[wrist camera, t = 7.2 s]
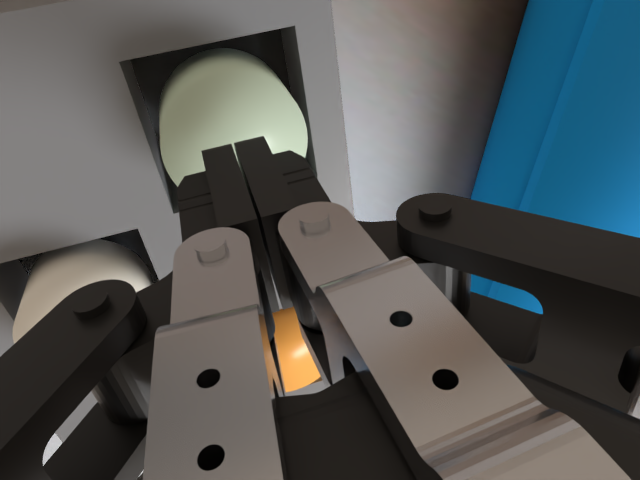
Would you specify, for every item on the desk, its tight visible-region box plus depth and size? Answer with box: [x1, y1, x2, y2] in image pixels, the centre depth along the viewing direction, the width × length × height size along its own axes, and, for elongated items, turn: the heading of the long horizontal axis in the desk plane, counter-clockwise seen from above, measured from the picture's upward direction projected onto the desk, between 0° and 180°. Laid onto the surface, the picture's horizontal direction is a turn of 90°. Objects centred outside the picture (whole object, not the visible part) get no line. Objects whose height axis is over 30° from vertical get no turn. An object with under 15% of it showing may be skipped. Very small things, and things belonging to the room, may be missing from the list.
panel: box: [0, 0, 354, 442], centre depth 19 cm, size 13×18×2 cm
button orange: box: [272, 307, 321, 392], centre depth 22 cm, size 4×4×2 cm
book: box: [470, 0, 640, 314], centre depth 25 cm, size 17×4×25 cm
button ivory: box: [12, 239, 152, 344], centre depth 17 cm, size 4×4×2 cm
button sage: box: [159, 48, 308, 187], centre depth 15 cm, size 4×4×2 cm
